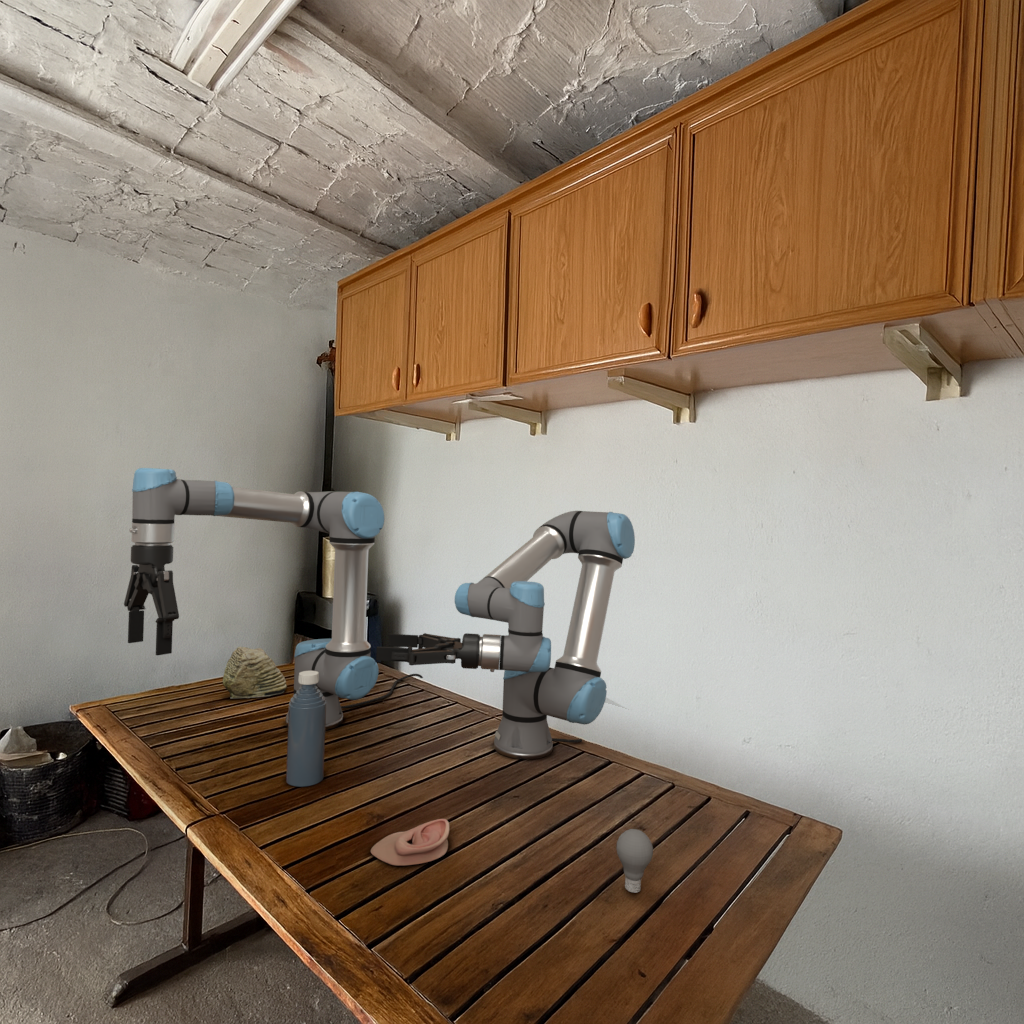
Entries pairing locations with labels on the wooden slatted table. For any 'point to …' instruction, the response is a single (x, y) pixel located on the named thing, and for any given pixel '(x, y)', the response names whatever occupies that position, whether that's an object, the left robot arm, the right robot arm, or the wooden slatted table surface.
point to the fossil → (252, 674)
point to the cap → (308, 677)
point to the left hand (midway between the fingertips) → (149, 648)
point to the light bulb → (634, 857)
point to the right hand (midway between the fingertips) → (383, 646)
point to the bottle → (306, 737)
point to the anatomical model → (414, 844)
